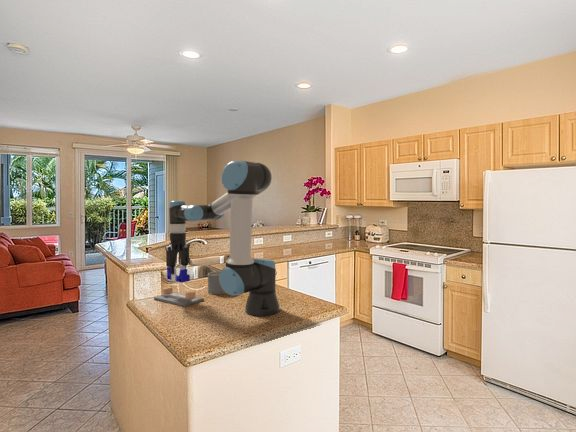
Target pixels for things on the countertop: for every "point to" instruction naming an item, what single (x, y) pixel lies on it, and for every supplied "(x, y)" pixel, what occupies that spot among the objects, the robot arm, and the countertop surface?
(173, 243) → the robot arm
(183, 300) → the rail mount
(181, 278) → the cable clip
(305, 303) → the countertop surface
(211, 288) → the coffee mug
